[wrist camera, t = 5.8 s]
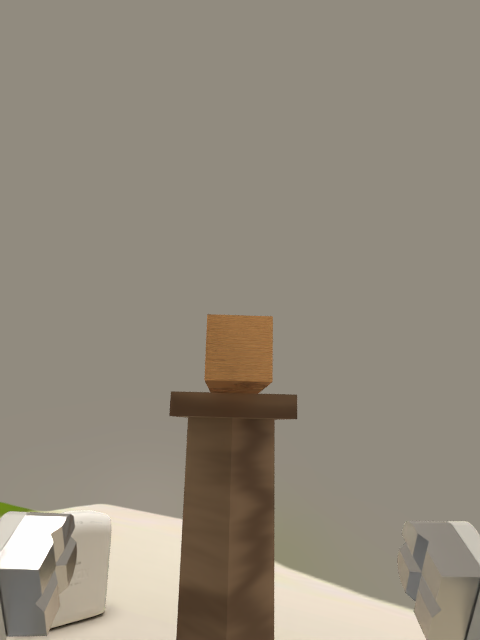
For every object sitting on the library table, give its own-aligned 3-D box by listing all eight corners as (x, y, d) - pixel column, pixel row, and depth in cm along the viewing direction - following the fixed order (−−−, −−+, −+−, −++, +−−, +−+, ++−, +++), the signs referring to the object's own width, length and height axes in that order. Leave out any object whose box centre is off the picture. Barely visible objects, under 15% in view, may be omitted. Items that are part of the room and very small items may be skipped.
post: (218, 1078, 15) (235, 388, 22) (39, 795, 27) (85, 395, 33) (397, 793, 27) (375, 403, 34) (222, 681, 39) (230, 405, 45)
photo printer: (19, 640, 45) (35, 519, 48) (12, 624, 48) (28, 512, 51) (109, 616, 51) (119, 510, 54) (98, 603, 54) (107, 504, 57)
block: (272, 382, 18) (272, 316, 19) (204, 380, 18) (207, 314, 18) (246, 403, 39) (246, 372, 40) (215, 402, 39) (216, 371, 40)
